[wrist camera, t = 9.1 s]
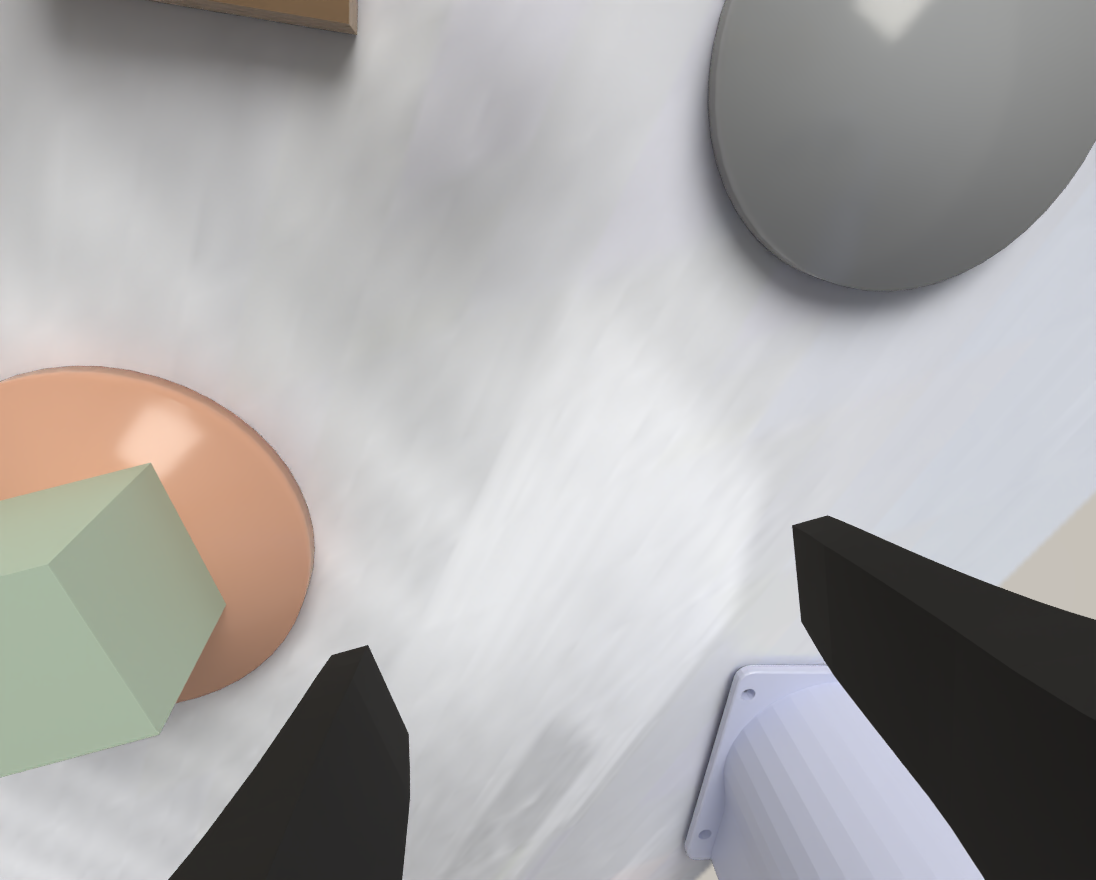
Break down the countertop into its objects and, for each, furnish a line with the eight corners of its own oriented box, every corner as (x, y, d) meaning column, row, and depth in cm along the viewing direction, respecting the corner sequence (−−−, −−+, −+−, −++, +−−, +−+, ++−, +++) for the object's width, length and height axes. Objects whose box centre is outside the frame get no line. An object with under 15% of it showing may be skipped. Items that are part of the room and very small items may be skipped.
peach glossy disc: (315, 682, 21) (309, 706, 20) (-43, 682, 19) (-68, 708, 18) (313, 382, 17) (304, 394, 16) (-135, 348, 15) (-172, 360, 14)
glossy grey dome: (1001, 302, 19) (1030, 309, 18) (671, 263, 17) (683, 269, 16) (1168, -132, 15) (1215, -151, 14) (766, -237, 13) (790, -267, 12)
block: (226, 604, 18) (159, 734, 14) (64, 646, 18) (-52, 791, 14) (150, 462, 16) (48, 564, 12) (-31, 508, 16) (-198, 627, 12)
